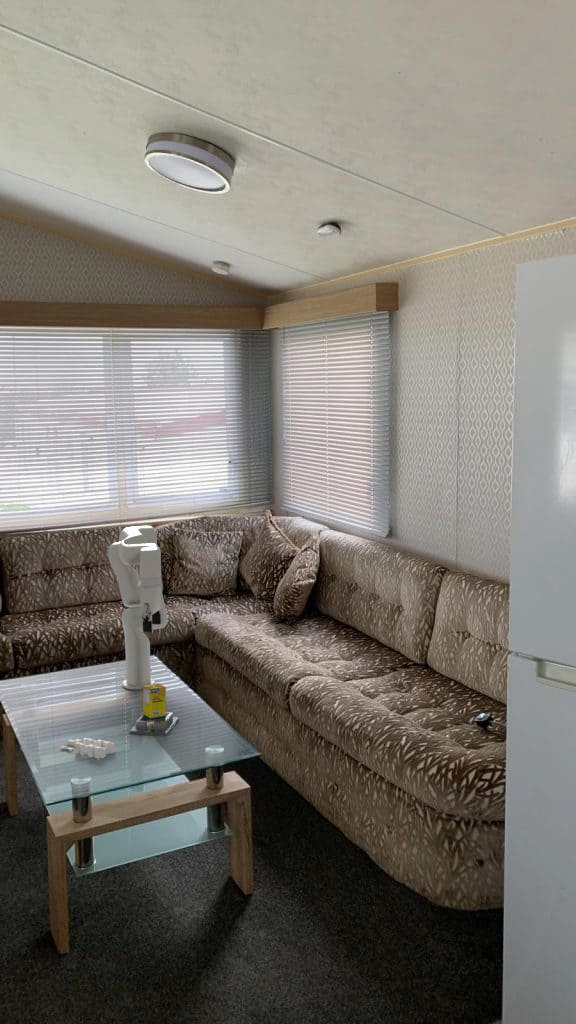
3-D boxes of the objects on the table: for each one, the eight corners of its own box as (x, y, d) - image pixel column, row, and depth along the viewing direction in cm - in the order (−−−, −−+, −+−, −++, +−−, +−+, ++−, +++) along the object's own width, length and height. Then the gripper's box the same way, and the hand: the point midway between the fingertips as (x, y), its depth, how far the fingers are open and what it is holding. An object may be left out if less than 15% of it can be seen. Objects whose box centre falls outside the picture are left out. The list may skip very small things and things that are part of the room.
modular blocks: (114, 752, 276) (114, 740, 275) (101, 760, 270) (101, 748, 269) (65, 742, 284) (64, 731, 283) (51, 750, 278) (51, 738, 277)
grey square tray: (143, 717, 304) (143, 708, 303) (178, 720, 301) (178, 710, 301) (129, 733, 290) (129, 723, 289) (166, 736, 288) (166, 726, 287)
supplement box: (166, 717, 294) (166, 686, 294) (150, 720, 291) (150, 689, 290) (158, 713, 299) (158, 682, 299) (142, 716, 296) (142, 685, 295)
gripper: (148, 576, 315) (150, 621, 318) (132, 587, 298) (133, 634, 301) (168, 576, 314) (169, 621, 317) (152, 587, 297) (154, 635, 300)
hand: (152, 627), depth 309 cm, fingers open, 9 cm apart
